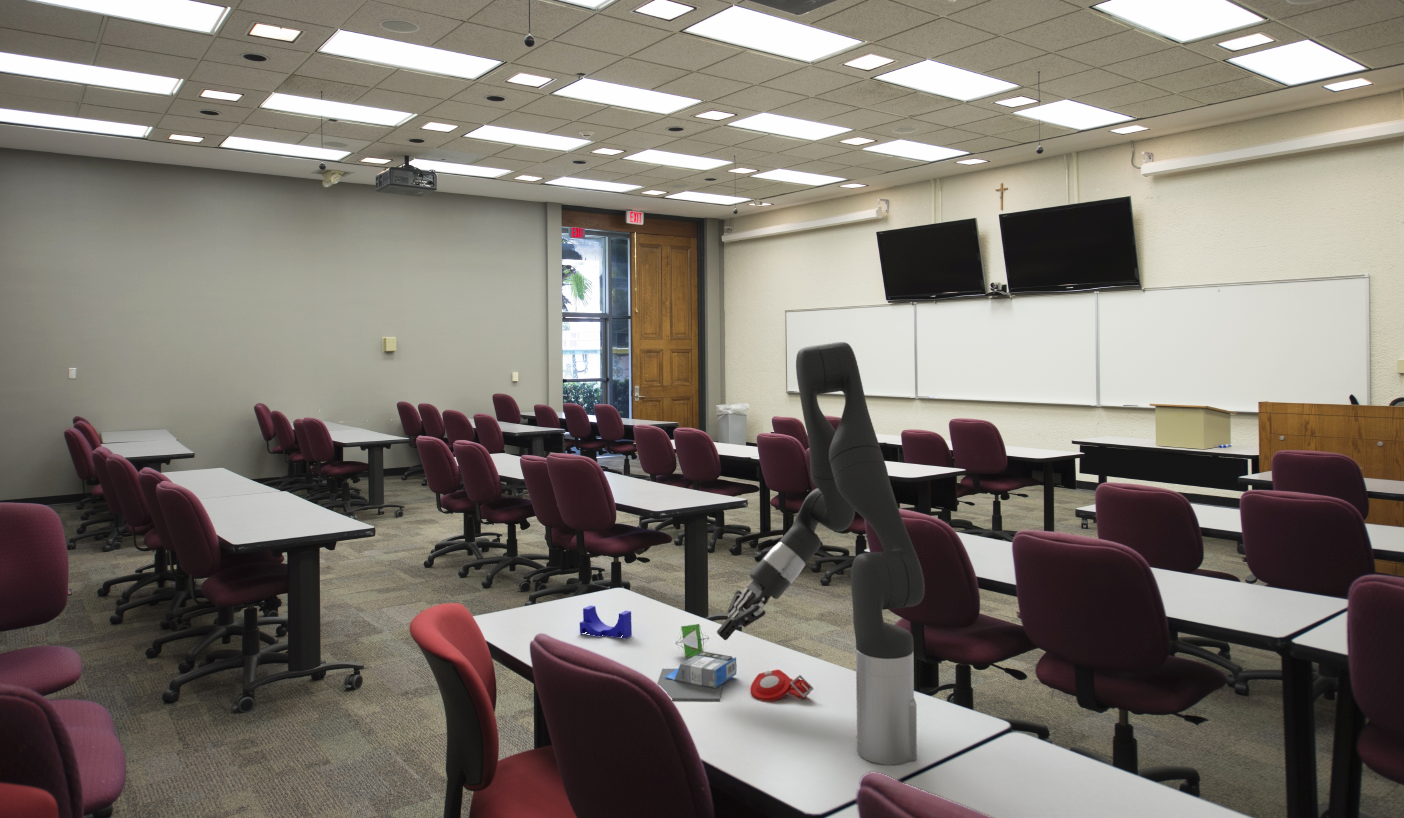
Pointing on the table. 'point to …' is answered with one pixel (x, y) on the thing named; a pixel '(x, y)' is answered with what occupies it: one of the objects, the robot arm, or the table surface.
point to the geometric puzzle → (692, 640)
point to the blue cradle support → (598, 628)
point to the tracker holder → (778, 686)
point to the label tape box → (706, 669)
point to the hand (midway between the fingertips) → (720, 636)
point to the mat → (687, 689)
